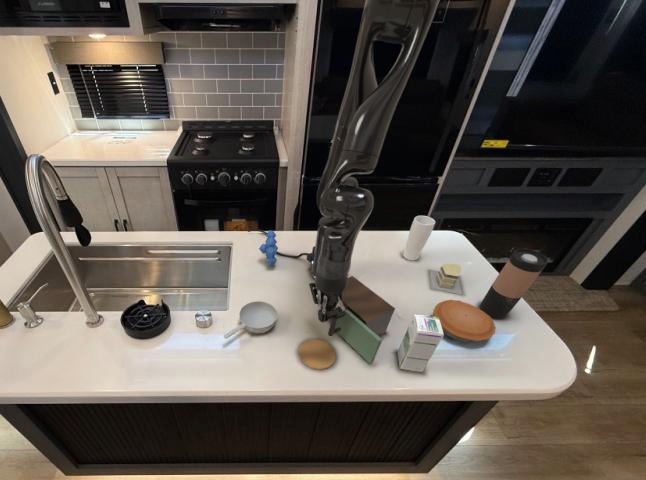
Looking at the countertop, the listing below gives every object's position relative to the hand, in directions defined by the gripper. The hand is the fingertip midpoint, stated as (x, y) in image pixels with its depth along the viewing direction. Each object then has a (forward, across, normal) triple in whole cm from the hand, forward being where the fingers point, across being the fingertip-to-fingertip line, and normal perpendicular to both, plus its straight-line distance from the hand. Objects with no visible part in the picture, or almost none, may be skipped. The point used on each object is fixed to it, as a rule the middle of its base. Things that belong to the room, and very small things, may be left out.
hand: (322, 319), depth 86 cm
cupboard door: (+4, -9, -2) cm, 10 cm away
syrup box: (+5, -20, -13) cm, 24 cm away
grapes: (+5, +36, -5) cm, 37 cm away
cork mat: (+5, -6, +6) cm, 10 cm away
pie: (+5, -19, -35) cm, 40 cm away
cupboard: (+5, -2, -10) cm, 11 cm away
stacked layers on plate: (+5, -4, -50) cm, 50 cm away
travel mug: (+5, -20, -50) cm, 54 cm away
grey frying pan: (+5, +11, +17) cm, 21 cm away
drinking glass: (+5, +12, -52) cm, 54 cm away
